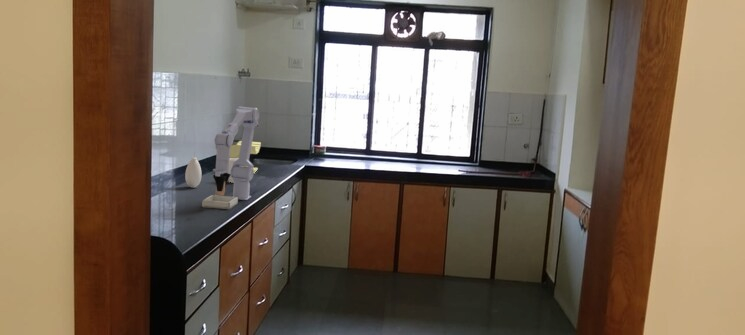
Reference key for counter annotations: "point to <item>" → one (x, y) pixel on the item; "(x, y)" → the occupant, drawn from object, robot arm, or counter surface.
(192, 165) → the white tall oval piece
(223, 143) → the robot arm
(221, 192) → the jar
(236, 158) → the foam cup
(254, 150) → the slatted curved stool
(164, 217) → the counter surface
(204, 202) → the tray
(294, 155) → the counter surface
